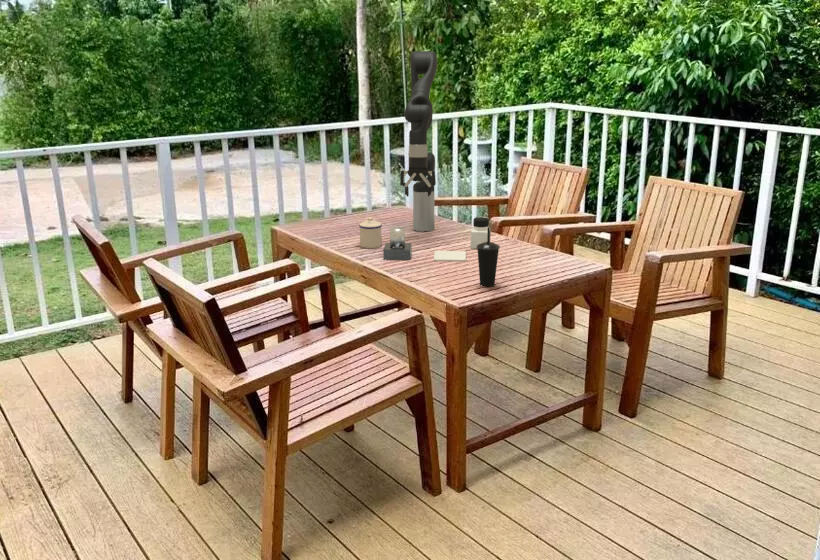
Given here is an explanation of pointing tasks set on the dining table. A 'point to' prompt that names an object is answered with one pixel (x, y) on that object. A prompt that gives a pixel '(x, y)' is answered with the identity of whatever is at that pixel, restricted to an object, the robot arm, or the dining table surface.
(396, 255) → the housing
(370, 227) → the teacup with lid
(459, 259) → the pad
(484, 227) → the medicine bottle
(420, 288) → the dining table surface
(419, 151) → the robot arm
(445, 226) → the dining table surface
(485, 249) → the drinking cup
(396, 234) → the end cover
